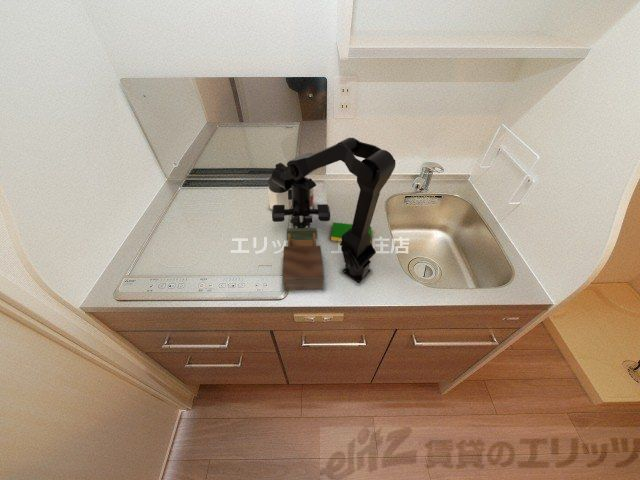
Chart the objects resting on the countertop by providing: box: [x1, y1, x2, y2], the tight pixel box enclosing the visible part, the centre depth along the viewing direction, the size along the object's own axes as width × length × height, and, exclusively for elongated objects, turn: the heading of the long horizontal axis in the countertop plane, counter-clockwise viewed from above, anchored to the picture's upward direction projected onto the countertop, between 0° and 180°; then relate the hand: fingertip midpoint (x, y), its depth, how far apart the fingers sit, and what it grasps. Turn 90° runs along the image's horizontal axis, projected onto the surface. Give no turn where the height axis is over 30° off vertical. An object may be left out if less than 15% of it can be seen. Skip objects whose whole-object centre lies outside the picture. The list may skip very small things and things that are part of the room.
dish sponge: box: [330, 221, 373, 243], centre depth 96 cm, size 7×14×2 cm, turn 83°
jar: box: [267, 177, 292, 210], centre depth 102 cm, size 9×8×12 cm
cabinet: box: [282, 245, 324, 292], centre depth 82 cm, size 12×11×6 cm
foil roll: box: [310, 187, 314, 209], centre depth 103 cm, size 5×5×10 cm
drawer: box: [285, 221, 318, 246], centre depth 90 cm, size 16×10×4 cm, turn 4°
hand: (301, 231), depth 94 cm, fingers closed, pressing on drawer
